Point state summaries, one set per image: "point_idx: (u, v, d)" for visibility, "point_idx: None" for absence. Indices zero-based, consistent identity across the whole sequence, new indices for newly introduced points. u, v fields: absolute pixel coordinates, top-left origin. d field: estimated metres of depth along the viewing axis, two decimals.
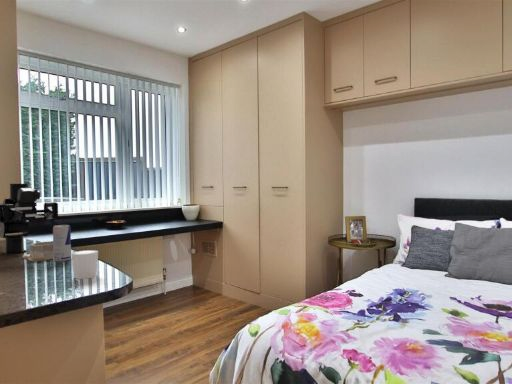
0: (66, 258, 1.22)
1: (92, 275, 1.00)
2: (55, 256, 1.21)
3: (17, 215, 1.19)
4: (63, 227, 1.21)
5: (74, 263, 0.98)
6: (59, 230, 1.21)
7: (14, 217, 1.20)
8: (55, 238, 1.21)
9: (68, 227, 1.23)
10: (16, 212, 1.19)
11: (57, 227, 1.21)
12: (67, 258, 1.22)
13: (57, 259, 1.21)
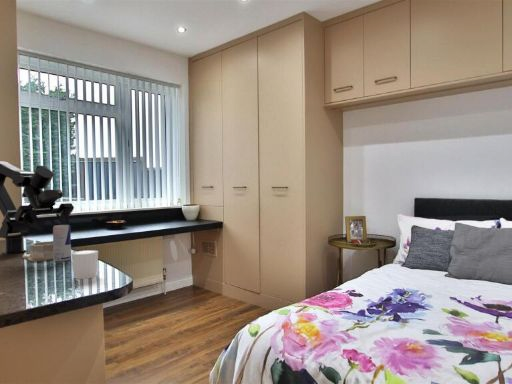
0: (66, 258, 1.22)
1: (92, 275, 1.00)
2: (55, 256, 1.21)
3: (37, 227, 1.21)
4: (63, 227, 1.21)
5: (74, 263, 0.98)
6: (59, 230, 1.21)
7: (32, 225, 1.22)
8: (55, 238, 1.21)
9: (68, 227, 1.23)
10: (37, 224, 1.21)
11: (57, 227, 1.21)
12: (67, 258, 1.22)
13: (57, 259, 1.21)
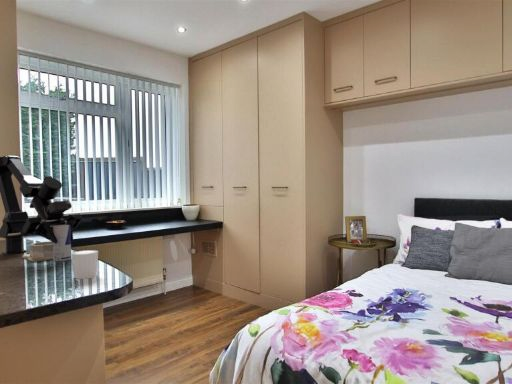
0: (66, 258, 1.22)
1: (92, 275, 1.00)
2: (55, 256, 1.21)
3: (51, 239, 1.20)
4: (63, 227, 1.21)
5: (74, 263, 0.98)
6: (59, 230, 1.21)
7: (46, 237, 1.21)
8: None
9: (68, 227, 1.23)
10: (51, 236, 1.20)
11: (57, 227, 1.21)
12: (67, 258, 1.22)
13: (57, 259, 1.21)
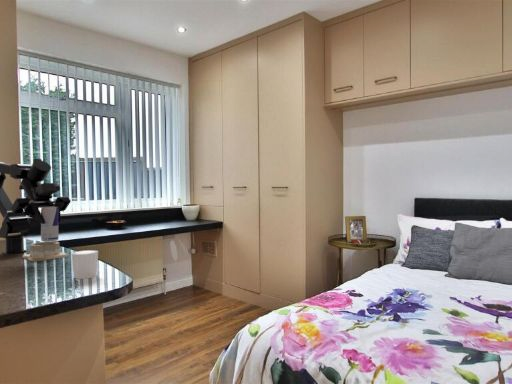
0: (53, 238, 1.25)
1: (92, 275, 1.00)
2: (42, 236, 1.24)
3: (38, 220, 1.24)
4: (51, 208, 1.25)
5: (74, 263, 0.98)
6: (47, 211, 1.24)
7: (34, 218, 1.24)
8: None
9: (56, 208, 1.26)
10: (39, 217, 1.23)
11: (45, 208, 1.24)
12: (54, 239, 1.26)
13: (44, 239, 1.24)
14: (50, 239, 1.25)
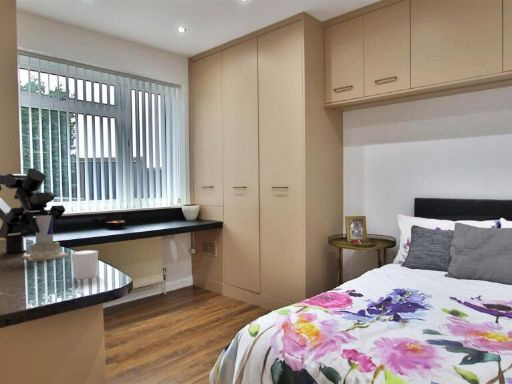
0: None
1: (92, 275, 1.00)
2: None
3: (33, 229, 1.25)
4: (45, 217, 1.26)
5: (74, 263, 0.98)
6: (41, 220, 1.26)
7: (29, 227, 1.26)
8: None
9: (50, 217, 1.28)
10: (33, 226, 1.25)
11: (39, 217, 1.26)
12: None
13: None
14: None
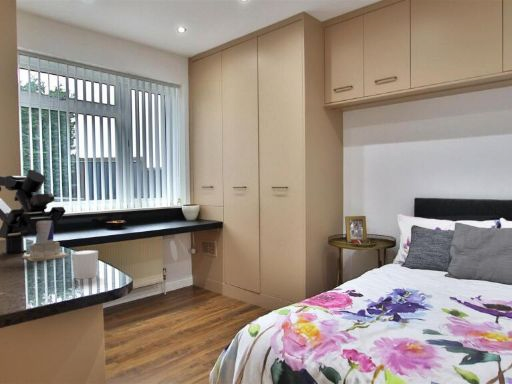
0: None
1: (92, 275, 1.00)
2: None
3: (31, 230, 1.25)
4: (46, 223, 1.26)
5: (74, 263, 0.98)
6: (42, 225, 1.26)
7: (26, 229, 1.25)
8: (38, 233, 1.26)
9: (51, 223, 1.28)
10: (31, 228, 1.24)
11: (40, 222, 1.26)
12: None
13: None
14: None
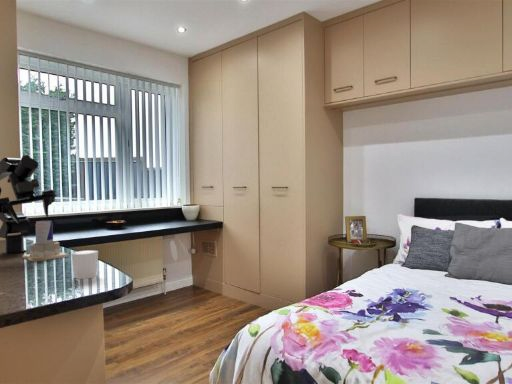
0: None
1: (92, 275, 1.00)
2: None
3: (14, 219, 1.27)
4: (45, 223, 1.26)
5: (74, 263, 0.98)
6: (41, 225, 1.26)
7: (11, 217, 1.28)
8: (38, 234, 1.26)
9: (50, 223, 1.28)
10: (13, 217, 1.27)
11: (39, 223, 1.26)
12: None
13: None
14: None
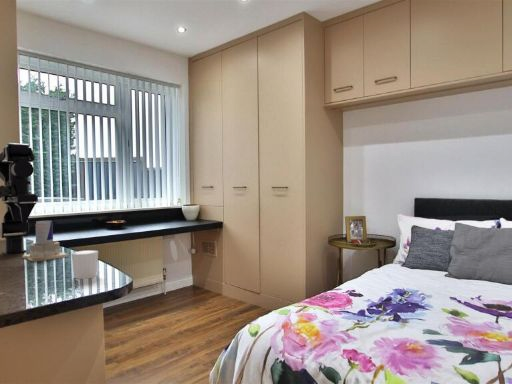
0: None
1: (92, 275, 1.00)
2: None
3: None
4: (45, 223, 1.26)
5: (74, 263, 0.98)
6: (41, 225, 1.26)
7: None
8: (38, 234, 1.26)
9: (50, 223, 1.28)
10: None
11: (39, 223, 1.26)
12: None
13: None
14: None
